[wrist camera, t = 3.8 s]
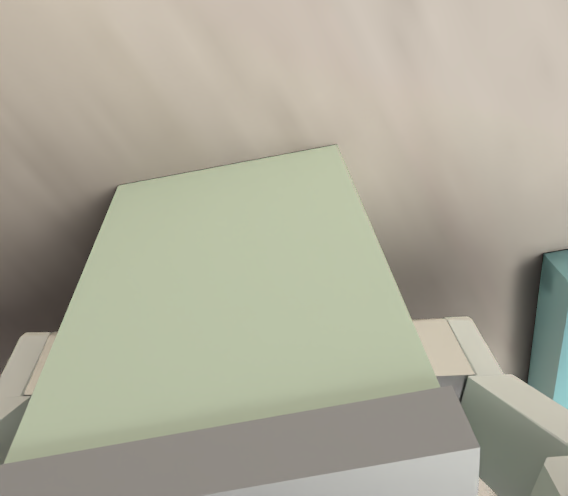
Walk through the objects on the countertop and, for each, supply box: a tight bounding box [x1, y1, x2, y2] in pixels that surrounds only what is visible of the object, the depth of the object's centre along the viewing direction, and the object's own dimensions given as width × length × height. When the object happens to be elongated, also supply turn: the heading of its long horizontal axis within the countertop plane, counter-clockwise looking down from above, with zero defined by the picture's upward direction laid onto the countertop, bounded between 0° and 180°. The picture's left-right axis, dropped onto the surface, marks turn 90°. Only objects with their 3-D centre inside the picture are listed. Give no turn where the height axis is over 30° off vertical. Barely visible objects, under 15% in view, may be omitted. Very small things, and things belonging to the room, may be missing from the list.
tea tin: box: [0, 145, 480, 496], centre depth 10 cm, size 5×5×8 cm
